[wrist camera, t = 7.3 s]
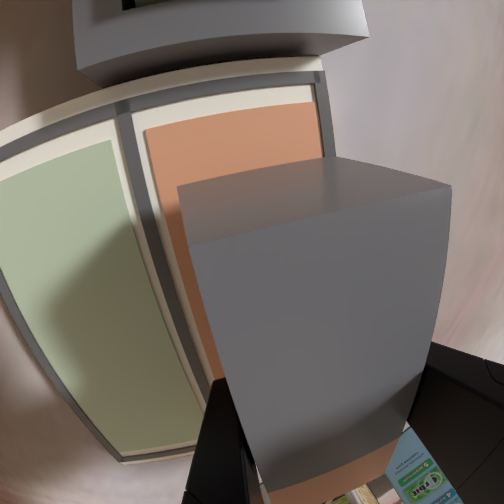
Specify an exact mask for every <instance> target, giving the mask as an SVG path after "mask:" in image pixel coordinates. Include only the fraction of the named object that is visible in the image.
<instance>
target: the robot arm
mask: <svg viewBox="0 0 504 504" xmlns="http://www.w3.org/2000/svg"><path fill="white" fill-rule="evenodd" d="M407 422H408V424H409V425H410V426H411V428H412V429H413V431H414V432H415V434H416V435H417V436H418V438H419V439H420V441H421V442H422V443H423V445H424V446H425V448H426V449H427V451H428V452H429V453H430V455H431V456H432V458H433V459H434V461H435V462H436V464H437V465H438V466H439V468H440V469H441V471H442V472H443V474H444V475H445V477H446V478H447V479H448V481H449V482H450V484H451V485H452V487H453V488H454V490H456V493H457V495H458V496H459V497H460V499H461V500H462V502H463V503H464V504H504V365H503V364H499V363H496V362H493V361H490V360H487V359H484V360H483V358H480V357H477V356H474V355H471V354H468V353H465V352H462V351H459V350H456V349H453V348H450V347H447V346H444V345H441V344H438V343H435V342H432V341H431V344H430V348H429V352H428V355H427V359H426V363H425V366H424V370H423V373H422V376H421V380H420V383H419V386H418V389H417V392H416V395H415V398H414V401H413V404H412V407H411V410H410V412H409V415H408V418H407ZM185 489H186V490H187V491H185V492H184V495H183V499H182V503H181V504H264V502H263V498H262V493H261V489H260V484H259V479H258V474H257V469H256V464H255V460H254V458H253V455H252V452H251V450H250V447H249V444H248V441H247V439H246V436H245V433H244V430H243V427H242V425H241V422H240V419H239V416H238V413H237V410H236V407H235V404H234V401H233V398H232V395H231V392H230V389H229V386H228V383H227V380H226V377H223V378H219V379H215V380H214V381H213V382H212V385H211V389H210V393H209V397H208V401H207V405H206V409H205V413H204V416H203V420H202V424H201V428H200V432H199V436H198V440H197V444H196V448H195V452H194V456H193V460H192V464H191V468H190V472H189V476H188V480H187V484H186V488H185Z"/></svg>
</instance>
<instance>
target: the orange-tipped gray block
mask: <svg viewBox="0 0 504 504" xmlns="http://www.w3.org/2000/svg"><path fill="white" fill-rule="evenodd" d="M177 192H178V197H179V203H180V208H181V214H182V219H183V224H184V229H185V235H186V240H187V244H188V249H189V253H190V257H191V261H192V264H193V268H194V272H195V276H196V279H197V283H198V287H199V290H200V294H201V297H202V301H203V305H204V308H205V312H206V315H207V319H208V322H209V325H210V329H211V332H212V335H213V339H214V342H215V345H216V349H217V352H218V355H219V358H220V362H221V365H222V368H223V371H224V374H225V377H226V380H227V383H228V386H229V389H230V392H231V395H232V398H233V401H234V404H235V407H236V410H237V413H238V416H239V419H240V422H241V425H242V427H243V430H244V433H245V436H246V439H247V441H248V444H249V447H250V450H251V452H252V455H253V458H254V460H255V463H256V466H257V468H258V471H259V473H260V476H261V479H262V481H263V484H264V486H265V489H266V491H267V494H268V496H269V499H270V501H271V504H321V503H324V502H326V501H329V500H331V499H334V498H336V497H338V496H341V495H343V494H345V493H348V492H350V491H352V490H354V489H356V488H358V487H360V486H363V485H365V484H367V483H369V482H371V481H373V480H375V479H377V478H378V477H380V476H382V475H383V474H384V472H385V470H386V468H387V466H388V464H389V461H390V459H391V457H392V455H393V452H394V450H395V448H396V445H397V443H398V441H399V438H400V436H401V433H402V431H403V428H404V426H405V423H406V421H407V418H408V415H409V412H410V410H411V407H412V404H413V401H414V398H415V395H416V392H417V389H418V386H419V383H420V380H421V376H422V373H423V370H424V366H425V363H426V359H427V355H428V352H429V348H430V344H431V340H432V336H433V331H434V327H435V322H436V318H437V313H438V308H439V303H440V297H441V292H442V286H443V280H444V273H445V266H446V258H447V250H448V241H449V230H450V217H451V199H452V186H451V185H448V184H444V183H441V182H438V181H434V180H431V179H427V178H424V177H420V176H417V175H413V174H409V173H405V172H402V171H398V170H394V169H390V168H386V167H381V166H377V165H373V164H369V163H364V162H360V161H355V160H350V159H345V158H340V157H335V156H329V157H322V158H316V159H309V160H303V161H297V162H291V163H285V164H280V165H274V166H269V167H263V168H258V169H253V170H248V171H243V172H238V173H233V174H229V175H224V176H219V177H215V178H210V179H206V180H201V181H197V182H193V183H188V184H184V185H180V186H177Z"/></svg>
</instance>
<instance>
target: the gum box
mask: <svg viewBox="0 0 504 504" xmlns="http://www.w3.org/2000/svg"><path fill="white" fill-rule="evenodd" d="M384 474H385V475H386V477H387V478H388V480H389V481H390V483H391V484H392V486H393V488H394V489H395V491H396V492H397V494H398V495H399V497H400V498H401V500H402V502H403V503H404V504H464V503H463V502H462V500H461V499H460V497H459V496H458V495H457V493H456V490H454V488H453V487H452V485H451V484H450V482H449V481H448V479H447V478H446V477H445V475H444V474H443V472H442V471H441V469H440V468H439V466H438V465H437V464H436V462H435V461H434V459H433V458H432V456H431V455H430V453H429V452H428V451H427V449H426V448H425V446H424V445H423V443H422V442H421V441H420V439H419V438H418V436H417V435H416V434H415V432H414V431H413V429H412V428H411V426H410V427H409V428H408V429H407V430H405V431H404V432H403V433H402V434H401V436H400V438H399V441H398V443H397V445H396V448H395V450H394V452H393V455H392V457H391V459H390V461H389V464H388V466H387V468H386V470H385V472H384Z"/></svg>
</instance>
